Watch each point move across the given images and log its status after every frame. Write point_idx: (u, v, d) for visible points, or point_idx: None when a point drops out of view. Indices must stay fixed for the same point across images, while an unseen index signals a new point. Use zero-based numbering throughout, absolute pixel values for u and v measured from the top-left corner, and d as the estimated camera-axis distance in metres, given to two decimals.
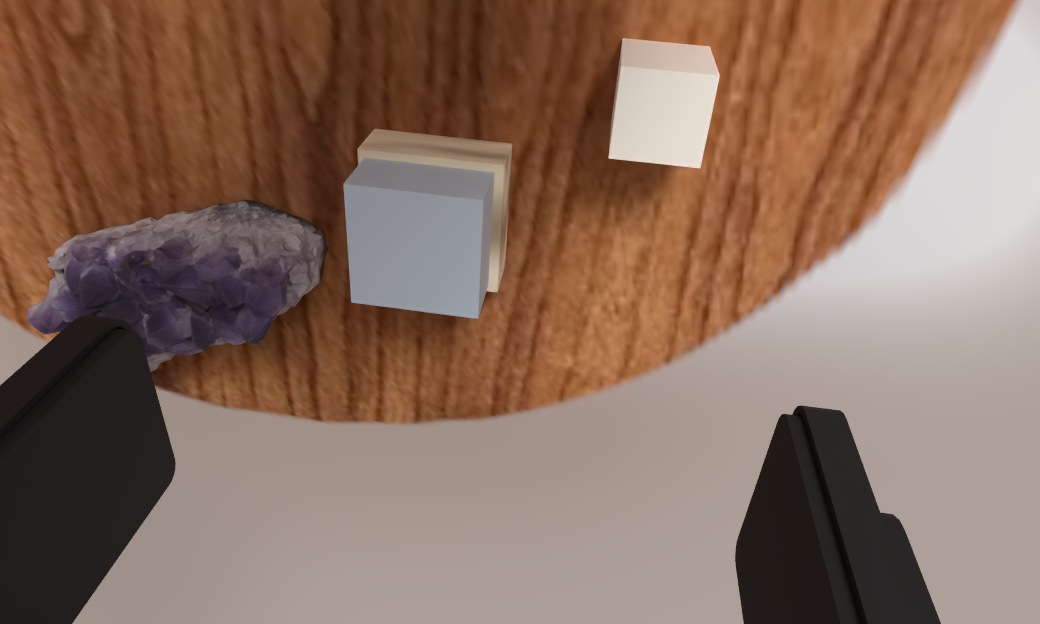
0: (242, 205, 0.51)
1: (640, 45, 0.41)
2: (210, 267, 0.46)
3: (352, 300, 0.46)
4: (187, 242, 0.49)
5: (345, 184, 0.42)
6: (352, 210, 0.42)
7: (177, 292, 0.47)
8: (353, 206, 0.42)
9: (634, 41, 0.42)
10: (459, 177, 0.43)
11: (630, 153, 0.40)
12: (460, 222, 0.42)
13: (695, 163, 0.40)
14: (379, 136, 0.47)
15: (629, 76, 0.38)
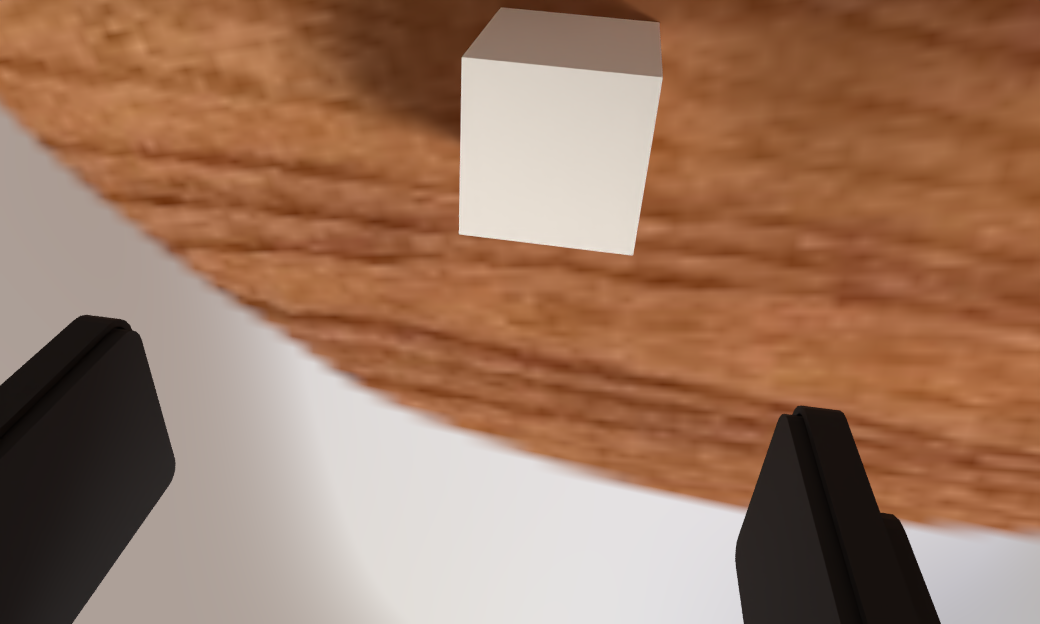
0: None
1: None
2: None
3: None
4: None
5: None
6: None
7: None
8: None
9: None
10: None
11: (475, 103, 0.19)
12: None
13: (467, 225, 0.21)
14: None
15: (639, 95, 0.18)
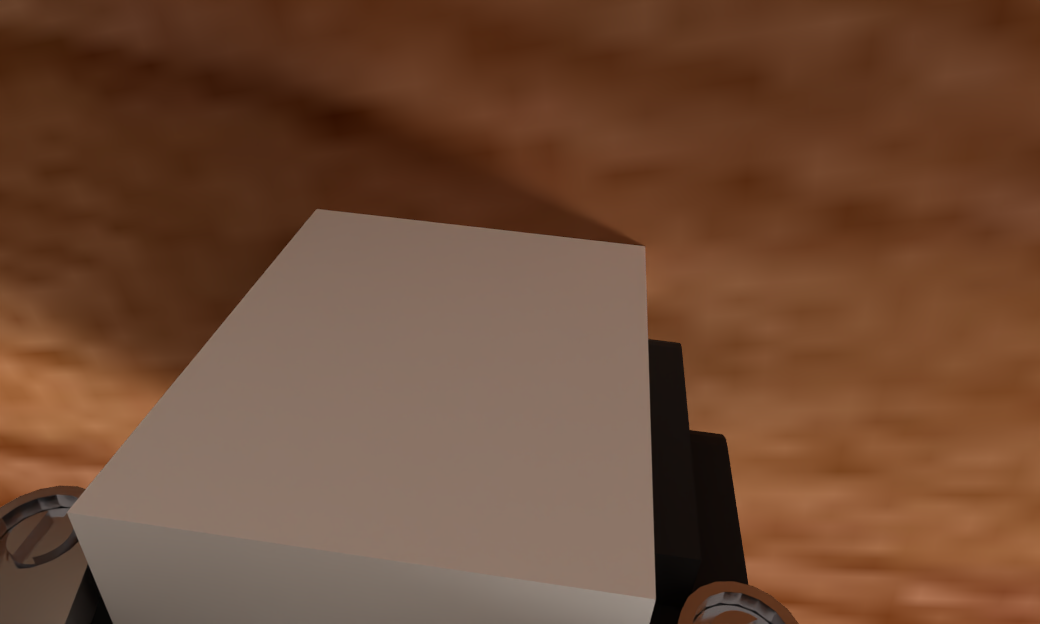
0: None
1: None
2: None
3: None
4: None
5: None
6: None
7: None
8: None
9: None
10: None
11: (140, 600, 0.07)
12: None
13: None
14: None
15: None
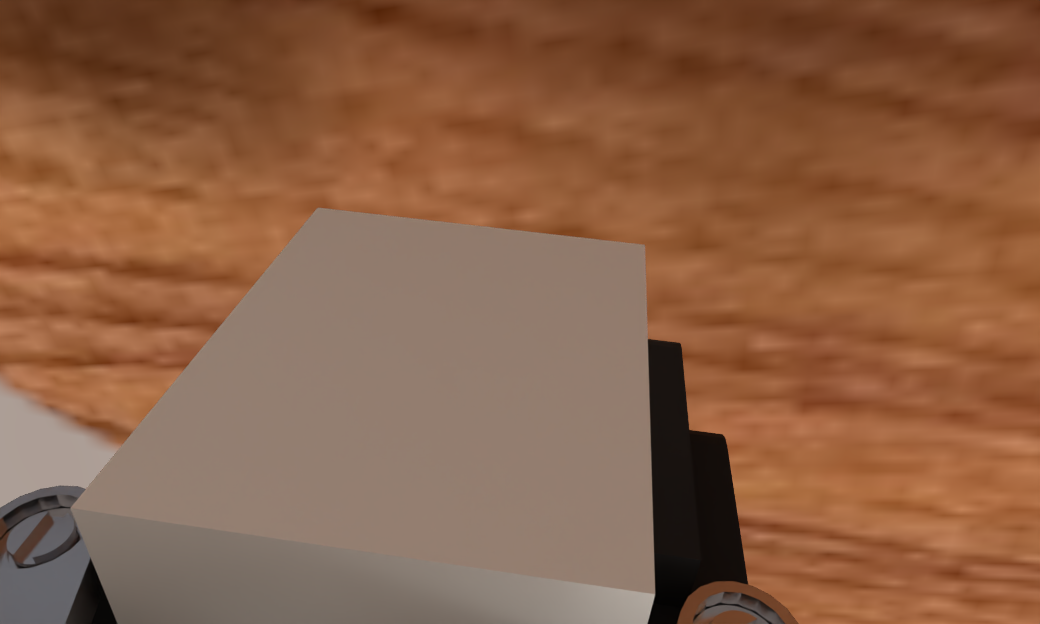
0: None
1: None
2: None
3: None
4: None
5: None
6: None
7: None
8: None
9: None
10: None
11: (142, 596, 0.07)
12: None
13: None
14: None
15: (588, 621, 0.06)
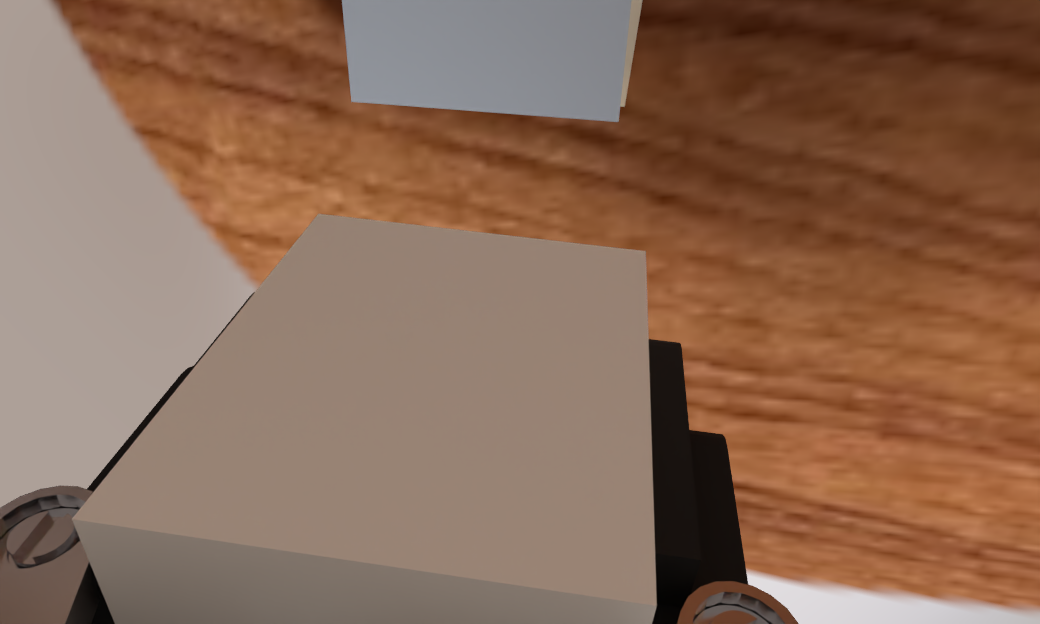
0: None
1: None
2: None
3: None
4: None
5: None
6: None
7: None
8: None
9: None
10: None
11: (144, 605, 0.07)
12: (568, 74, 0.21)
13: None
14: None
15: None
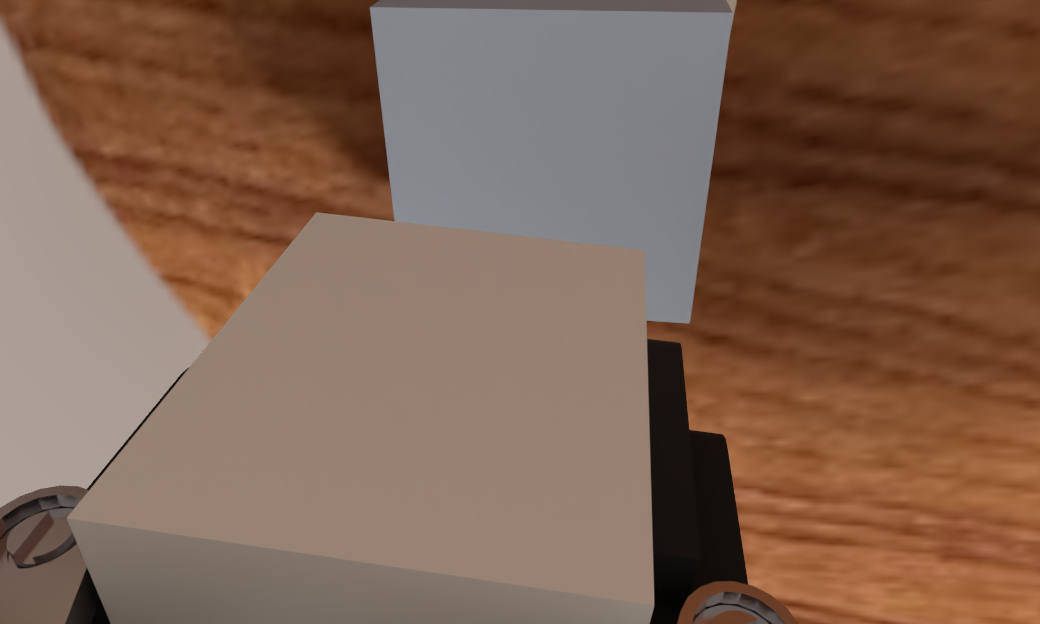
0: None
1: None
2: None
3: (377, 11, 0.17)
4: None
5: (730, 18, 0.16)
6: (654, 32, 0.16)
7: None
8: (666, 37, 0.16)
9: None
10: None
11: (139, 604, 0.07)
12: None
13: None
14: None
15: None
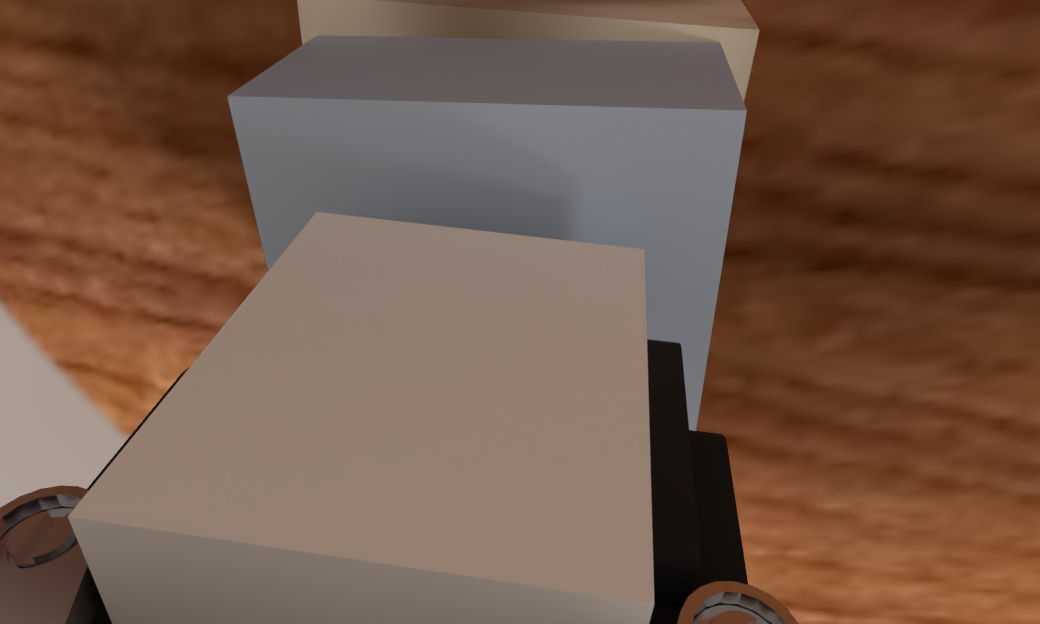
0: None
1: None
2: None
3: (237, 101, 0.12)
4: None
5: (742, 117, 0.11)
6: (633, 136, 0.11)
7: None
8: (650, 143, 0.11)
9: None
10: None
11: (141, 604, 0.07)
12: None
13: None
14: None
15: None
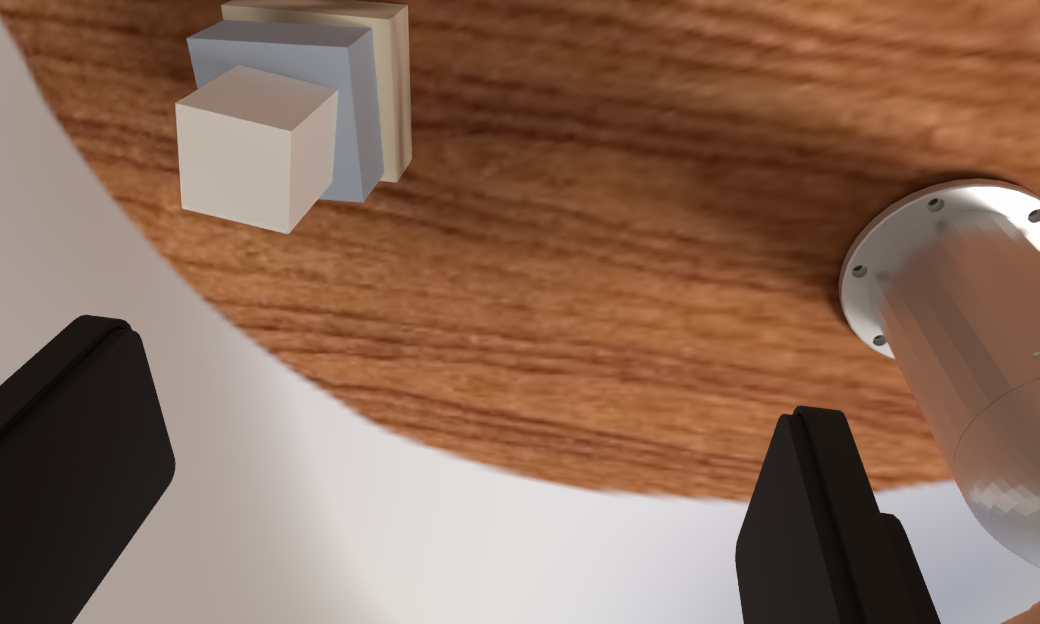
0: None
1: (327, 118, 0.35)
2: None
3: (189, 40, 0.36)
4: None
5: (347, 49, 0.35)
6: (315, 55, 0.35)
7: None
8: (321, 57, 0.35)
9: (333, 107, 0.36)
10: (375, 150, 0.40)
11: (185, 130, 0.32)
12: None
13: (186, 203, 0.34)
14: (402, 23, 0.40)
15: (280, 139, 0.31)
